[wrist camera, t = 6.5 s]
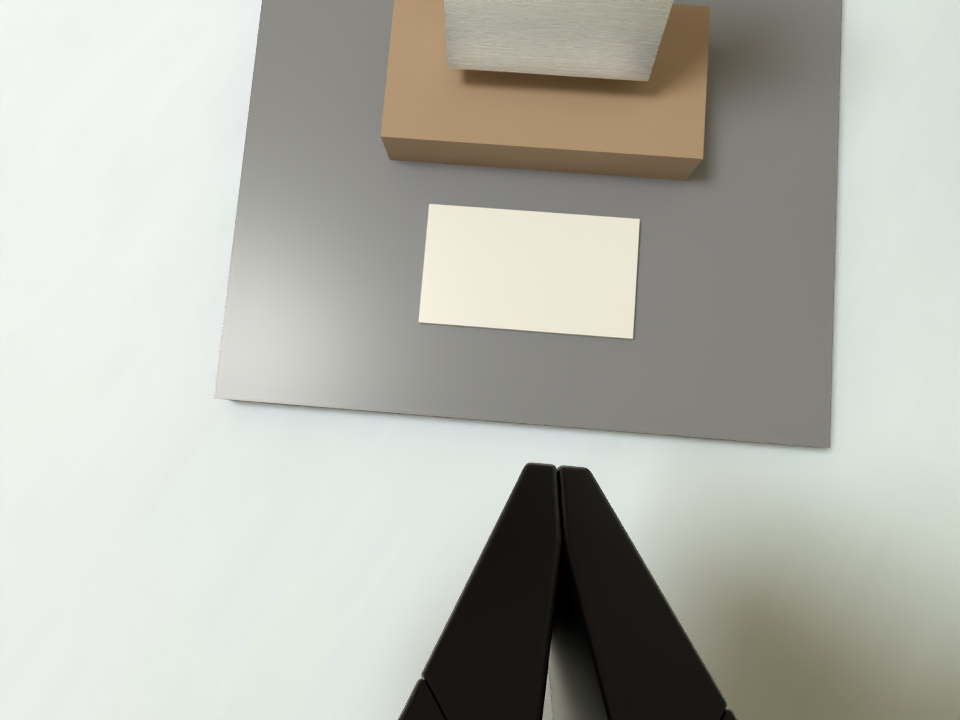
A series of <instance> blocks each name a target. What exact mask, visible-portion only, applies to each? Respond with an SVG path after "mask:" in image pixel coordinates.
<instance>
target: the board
mask: <svg viewBox="0 0 960 720" xmlns="http://www.w3.org/2000/svg"><path fill="white" fill-rule="evenodd" d="M841 17H842V0H674V1H673V4H672V7H671V10H670V13H669V16H668V20H667V23H666V26H665V29H664V32H663V36H662V39H661V42H660V45H659V48H658V51H657V55H656V58H655V61H654V64H653V67H652V71H651V74H650V77H649V80H648V81H634V80H619V79H604V78H589V77H574V76H559V75H544V74H529V73H513V72H498V71H483V70H468V69H453V68H448V66H447V47H446V28H445V9H444V0H262V6H261V14H260V22H259V31H258V39H257V47H256V55H255V64H254V72H253V80H252V89H251V97H250V105H249V114H248V122H247V130H246V139H245V147H244V155H243V164H242V172H241V180H240V188H239V197H238V205H237V213H236V222H235V230H234V238H233V247H232V255H231V263H230V272H229V280H228V288H227V296H226V305H225V313H224V321H223V330H222V338H221V346H220V355H219V363H218V371H217V380H216V388H215V396H214V398H218V399H228V400H241V401H253V402H266V403H278V404H290V405H303V406H315V407H328V408H340V409H352V410H365V411H377V412H390V413H402V414H415V415H427V416H439V417H452V418H464V419H477V420H489V421H501V422H514V423H526V424H539V425H551V426H564V427H576V428H588V429H601V430H613V431H626V432H638V433H650V434H663V435H675V436H688V437H700V438H712V439H725V440H737V441H750V442H762V443H775V444H787V445H799V446H812V447H827V448H830V417H831V381H832V345H833V308H834V272H835V235H836V199H837V163H838V126H839V90H840V53H841Z"/></svg>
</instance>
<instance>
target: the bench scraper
mask: <svg viewBox="0 0 960 720" xmlns="http://www.w3.org/2000/svg"><path fill="white" fill-rule="evenodd" d="M673 1H674V0H444V9H445V28H446V47H447V66H448V68H453V69H468V70H483V71H498V72H513V73H529V74H544V75H559V76H574V77H589V78H604V79H619V80H634V81H648V80H649V77H650V74H651V71H652V67H653V64H654V61H655V58H656V55H657V51H658V48H659V45H660V42H661V39H662V36H663V32H664V29H665V26H666V23H667V20H668V16H669V13H670V10H671V7H672V4H673Z"/></svg>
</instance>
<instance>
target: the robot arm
mask: <svg viewBox="0 0 960 720" xmlns="http://www.w3.org/2000/svg"><path fill="white" fill-rule="evenodd" d="M548 666H549V678H550V689H551V701H552V712H553V720H737V718H736V717H735V715H734V713H733V712H732V711H731V710H730V709H727V710H726V707H727V702H726V700H725V698H724V697H723V695H722V693H721V692H720V690H719V688H718V687H717V685H716V683H715V682H714V680H713V678H712V676H711V675H710V673H709V671H708V670H707V668H706V666H705V665H704V663H703V661H702V659H701V658H700V656H699V654H698V653H697V651H696V649H695V648H694V646H693V644H692V642H691V641H690V639H689V637H688V636H687V634H686V632H685V631H684V629H683V627H682V626H681V624H680V622H679V620H678V619H677V617H676V615H675V614H674V612H673V610H672V609H671V607H670V605H669V603H668V602H667V600H666V598H665V597H664V595H663V593H662V592H661V590H660V588H659V586H658V585H657V583H656V581H655V580H654V578H653V576H652V575H651V573H650V571H649V570H648V568H647V566H646V564H645V563H644V561H643V559H642V558H641V556H640V554H639V553H638V551H637V549H636V547H635V546H634V544H633V542H632V541H631V539H630V537H629V536H628V534H627V532H626V531H625V529H624V527H623V525H622V524H621V522H620V520H619V519H618V517H617V515H616V514H615V512H614V510H613V508H612V507H611V505H610V503H609V502H608V500H607V498H606V497H605V495H604V493H603V491H602V490H601V488H600V486H599V485H598V483H597V481H596V480H595V478H594V476H593V475H592V473H591V472H590V470H588V469H587V468H584V467H575V466H564V465H563V466H560V467H558V469H557V468H556V467H555V466H554V465H552V464H542V463H527V464H526V465H525V467H524V468H523V470H522V472H521V474H520V476H519V479H518V481H517V483H516V485H515V487H514V489H513V491H512V493H511V495H510V497H509V499H508V501H507V503H506V505H505V507H504V509H503V511H502V513H501V515H500V517H499V519H498V521H497V523H496V525H495V527H494V529H493V531H492V533H491V535H490V537H489V539H488V541H487V543H486V545H485V547H484V549H483V551H482V553H481V555H480V557H479V559H478V561H477V563H476V565H475V567H474V569H473V571H472V573H471V575H470V577H469V579H468V581H467V583H466V585H465V587H464V589H463V591H462V593H461V595H460V597H459V599H458V601H457V603H456V605H455V607H454V609H453V611H452V613H451V616H450V618H449V620H448V622H447V624H446V626H445V628H444V630H443V632H442V634H441V636H440V638H439V640H438V642H437V644H436V646H435V648H434V650H433V652H432V654H431V656H430V658H429V660H428V662H427V664H426V666H425V668H424V670H423V672H422V674H421V679H419V680H418V681H417V683H416V685H415V687H414V689H413V691H412V693H411V695H410V697H409V699H408V701H407V703H406V705H405V707H404V709H403V711H402V713H401V715H400V717H399V718H398V720H542V716H543V707H544V699H545V690H546V682H547V673H548Z"/></svg>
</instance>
